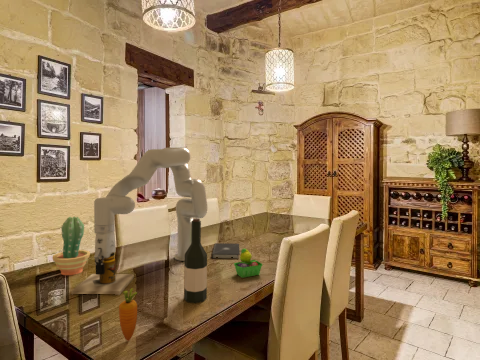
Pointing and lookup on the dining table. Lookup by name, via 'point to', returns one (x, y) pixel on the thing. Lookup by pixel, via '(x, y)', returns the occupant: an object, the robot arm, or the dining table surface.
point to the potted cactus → (71, 248)
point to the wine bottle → (195, 267)
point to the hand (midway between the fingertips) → (105, 269)
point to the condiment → (107, 272)
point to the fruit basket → (247, 265)
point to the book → (225, 250)
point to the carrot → (128, 315)
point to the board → (115, 288)
